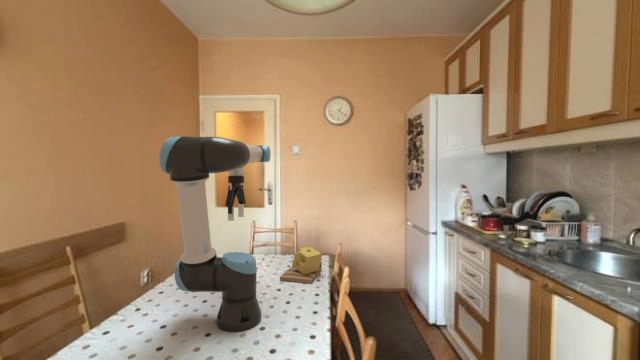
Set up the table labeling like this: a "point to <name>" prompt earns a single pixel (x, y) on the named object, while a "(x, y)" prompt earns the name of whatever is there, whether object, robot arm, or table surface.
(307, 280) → the walnut board
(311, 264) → the cheese
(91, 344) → the table surface
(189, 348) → the table surface
